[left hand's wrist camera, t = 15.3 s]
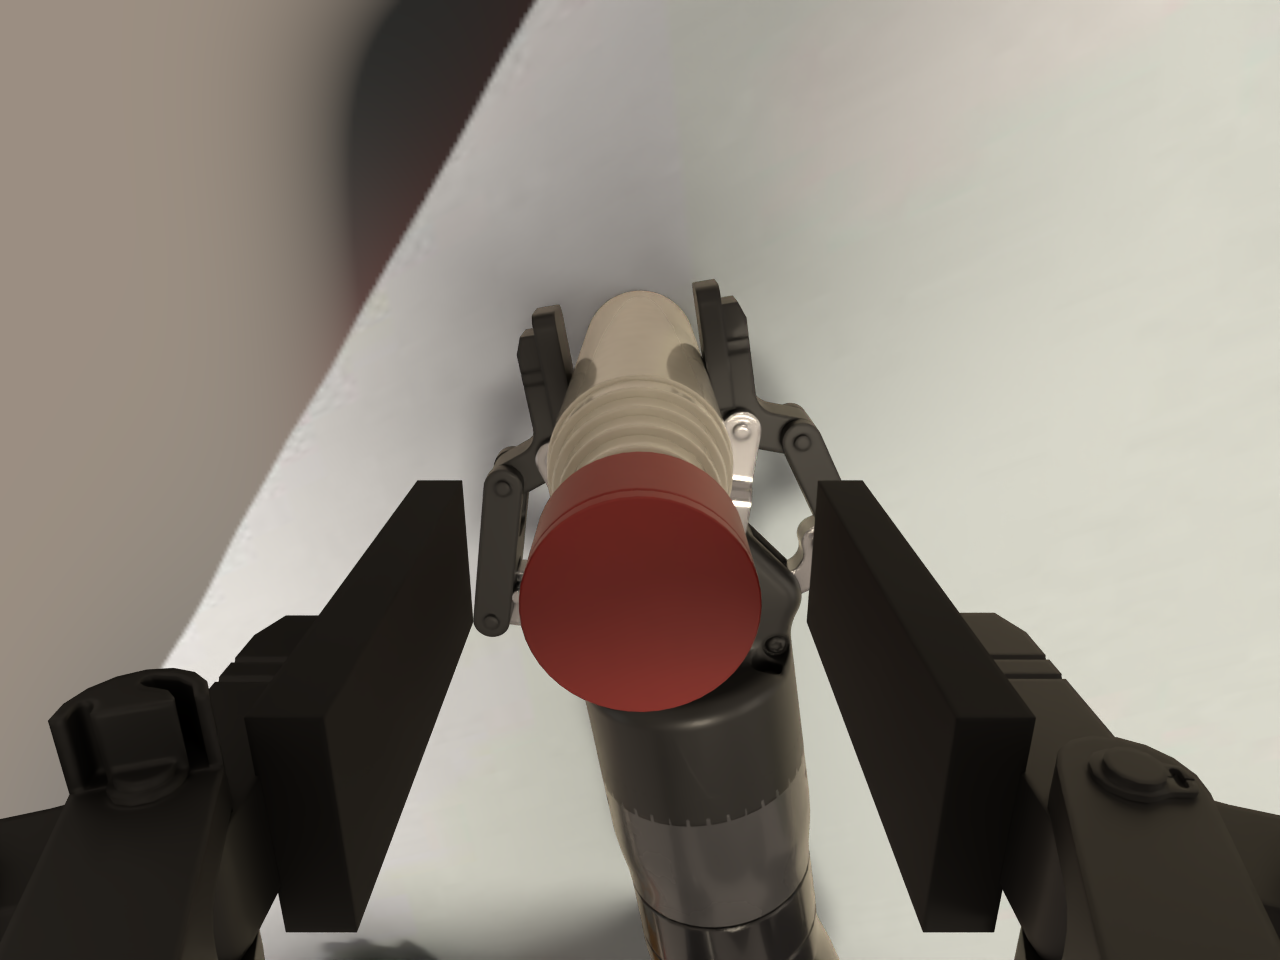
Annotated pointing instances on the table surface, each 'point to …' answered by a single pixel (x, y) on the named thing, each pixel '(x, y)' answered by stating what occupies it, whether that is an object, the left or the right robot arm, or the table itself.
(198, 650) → the table surface
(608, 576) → the cap
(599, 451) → the bottle
